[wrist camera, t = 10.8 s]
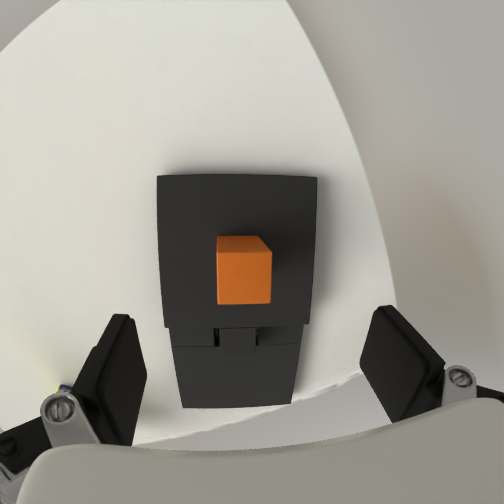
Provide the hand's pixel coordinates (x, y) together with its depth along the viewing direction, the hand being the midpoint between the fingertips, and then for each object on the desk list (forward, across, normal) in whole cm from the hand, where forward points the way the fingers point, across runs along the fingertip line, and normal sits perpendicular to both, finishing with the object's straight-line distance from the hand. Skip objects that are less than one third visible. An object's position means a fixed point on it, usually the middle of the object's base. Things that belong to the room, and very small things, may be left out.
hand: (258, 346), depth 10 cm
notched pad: (+14, 0, +13) cm, 19 cm away
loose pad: (+13, 0, +2) cm, 13 cm away
